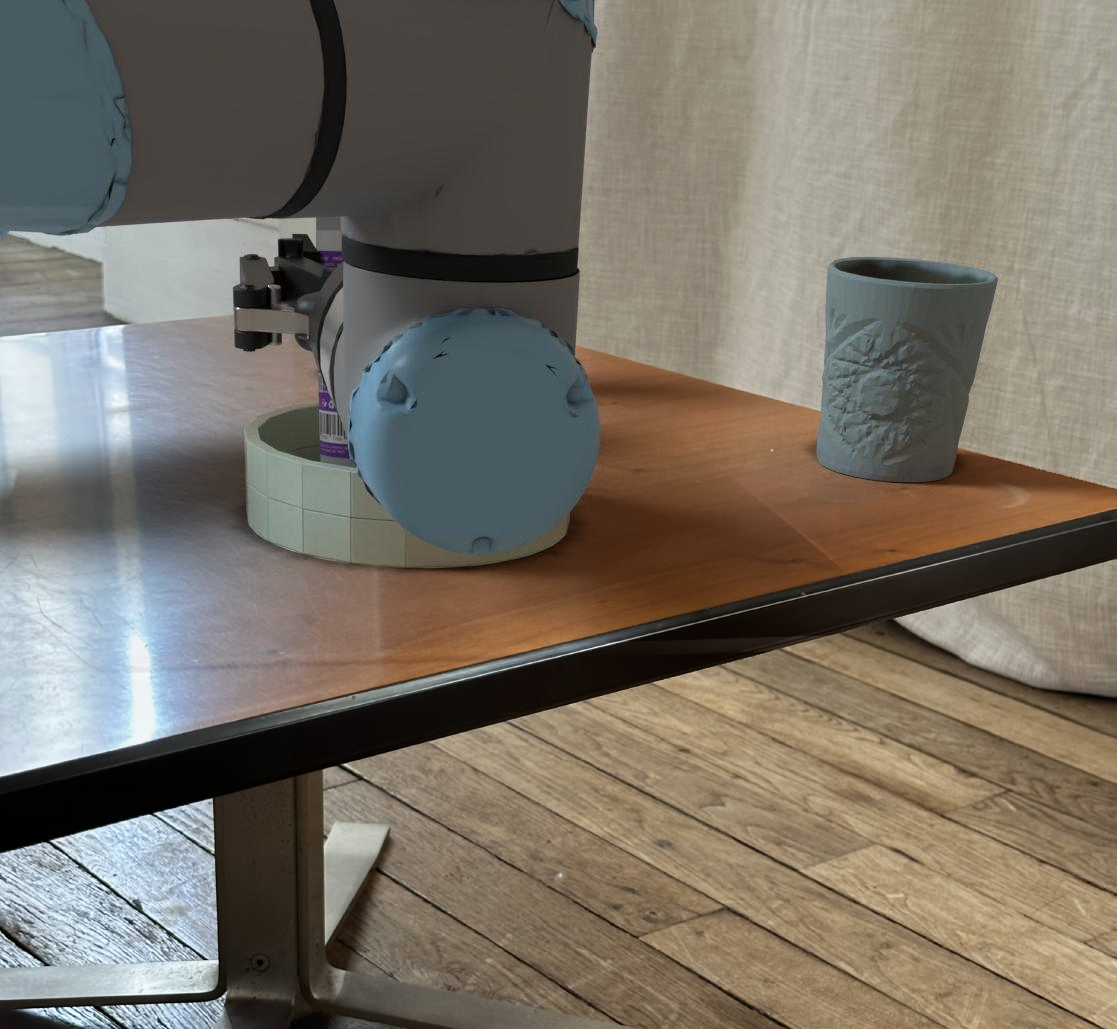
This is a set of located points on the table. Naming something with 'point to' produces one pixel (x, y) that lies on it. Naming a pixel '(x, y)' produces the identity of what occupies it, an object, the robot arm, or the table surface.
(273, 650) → the table surface
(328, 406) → the container
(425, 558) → the bowl
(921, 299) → the grey embossed cup
